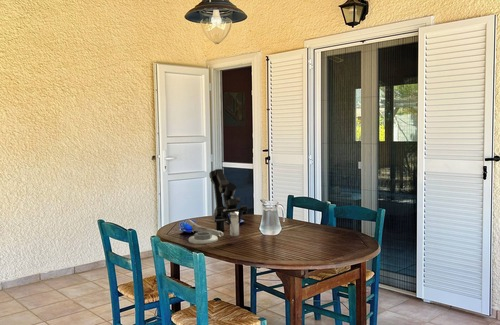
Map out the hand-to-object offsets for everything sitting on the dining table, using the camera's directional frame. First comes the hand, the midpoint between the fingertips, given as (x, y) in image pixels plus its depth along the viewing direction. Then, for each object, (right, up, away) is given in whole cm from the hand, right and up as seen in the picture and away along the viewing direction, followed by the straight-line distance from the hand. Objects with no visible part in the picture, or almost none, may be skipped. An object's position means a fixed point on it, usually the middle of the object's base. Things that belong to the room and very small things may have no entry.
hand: (234, 223), depth 262 cm
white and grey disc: (-19, -11, +10) cm, 24 cm away
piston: (0, -7, +2) cm, 7 cm away
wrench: (-20, -10, +26) cm, 34 cm away
